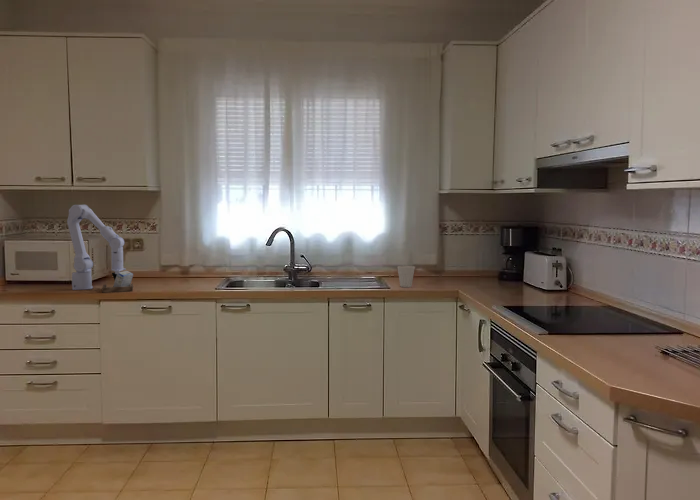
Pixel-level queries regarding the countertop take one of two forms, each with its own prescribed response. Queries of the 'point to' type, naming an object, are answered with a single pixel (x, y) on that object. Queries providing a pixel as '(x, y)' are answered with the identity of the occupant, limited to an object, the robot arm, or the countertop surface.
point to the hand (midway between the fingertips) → (118, 285)
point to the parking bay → (117, 289)
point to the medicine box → (123, 279)
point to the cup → (406, 275)
